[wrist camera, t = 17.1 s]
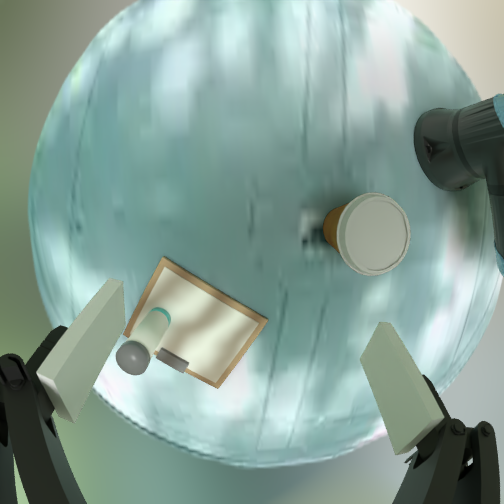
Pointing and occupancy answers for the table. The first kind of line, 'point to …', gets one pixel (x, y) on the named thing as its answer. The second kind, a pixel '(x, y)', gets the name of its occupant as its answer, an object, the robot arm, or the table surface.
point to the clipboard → (197, 324)
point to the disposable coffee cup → (369, 233)
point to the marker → (143, 342)
